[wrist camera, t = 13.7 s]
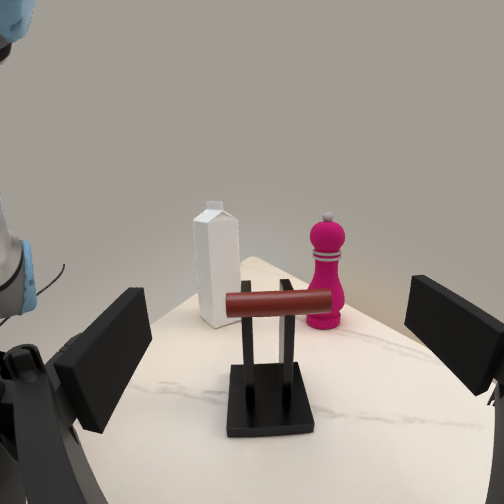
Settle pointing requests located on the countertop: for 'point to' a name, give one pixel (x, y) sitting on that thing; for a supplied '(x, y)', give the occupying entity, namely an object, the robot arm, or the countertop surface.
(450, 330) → the robot arm
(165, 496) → the countertop surface
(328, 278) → the pepper mill
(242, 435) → the black lever stand
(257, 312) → the lever
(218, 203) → the milk
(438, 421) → the countertop surface
